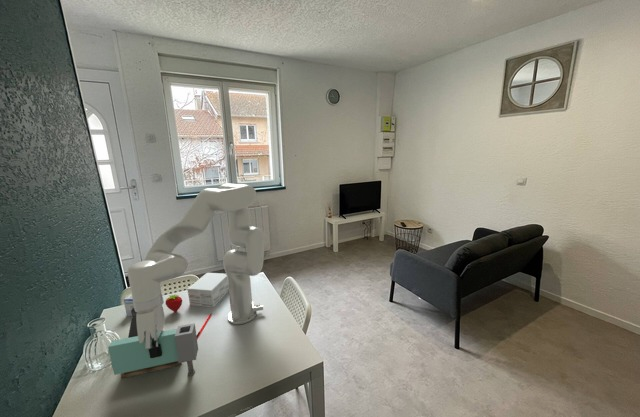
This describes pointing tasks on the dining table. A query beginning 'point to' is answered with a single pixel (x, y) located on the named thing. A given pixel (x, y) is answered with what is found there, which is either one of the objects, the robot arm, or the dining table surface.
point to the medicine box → (128, 304)
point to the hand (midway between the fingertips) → (157, 352)
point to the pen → (203, 326)
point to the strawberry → (174, 302)
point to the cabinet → (158, 367)
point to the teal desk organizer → (136, 356)
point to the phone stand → (133, 325)
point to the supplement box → (208, 290)
